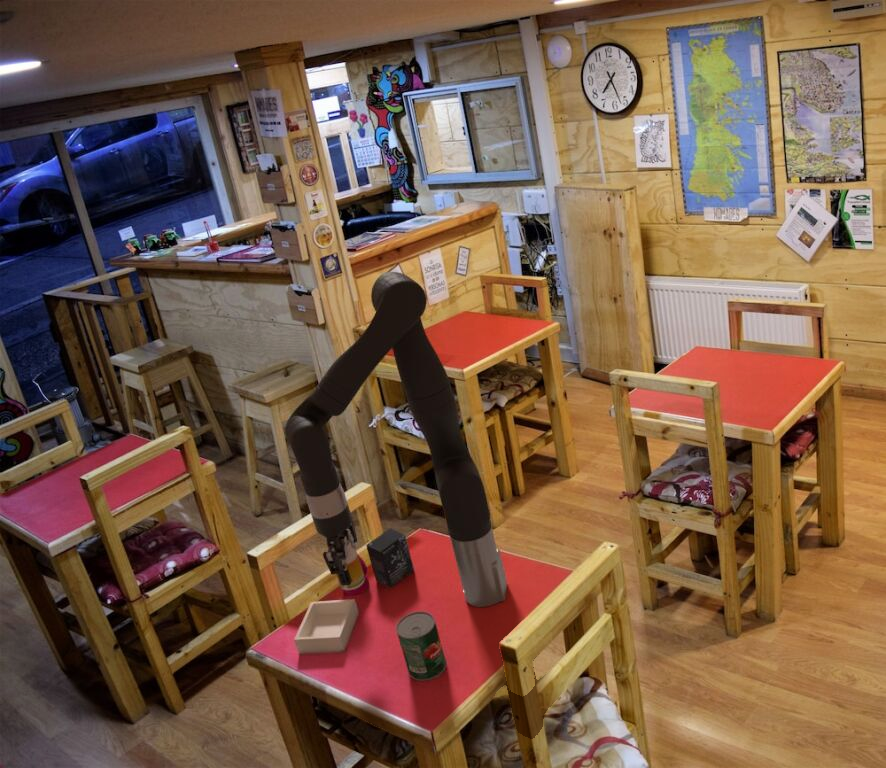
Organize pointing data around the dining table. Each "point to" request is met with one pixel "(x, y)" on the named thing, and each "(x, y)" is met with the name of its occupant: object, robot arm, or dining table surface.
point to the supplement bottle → (353, 569)
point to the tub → (327, 626)
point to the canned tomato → (421, 645)
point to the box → (390, 557)
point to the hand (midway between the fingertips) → (350, 574)
